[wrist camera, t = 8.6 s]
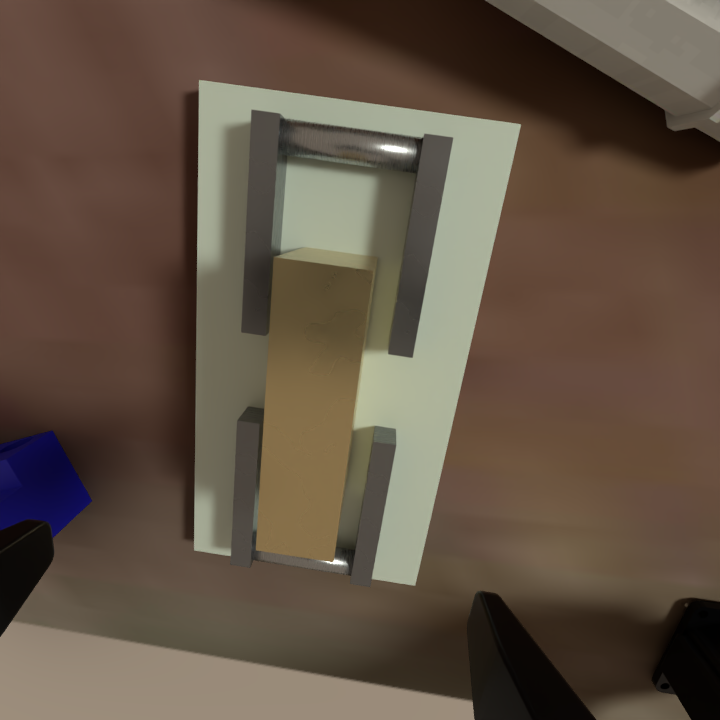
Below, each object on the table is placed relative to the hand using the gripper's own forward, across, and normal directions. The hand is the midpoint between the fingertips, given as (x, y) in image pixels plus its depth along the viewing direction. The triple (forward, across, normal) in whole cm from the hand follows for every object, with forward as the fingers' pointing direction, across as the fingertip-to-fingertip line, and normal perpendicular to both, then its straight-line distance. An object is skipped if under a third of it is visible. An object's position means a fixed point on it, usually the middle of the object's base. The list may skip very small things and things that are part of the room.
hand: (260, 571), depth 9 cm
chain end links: (+11, 0, 0) cm, 11 cm away
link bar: (+11, 0, 0) cm, 11 cm away
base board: (+12, 0, 0) cm, 12 cm away
